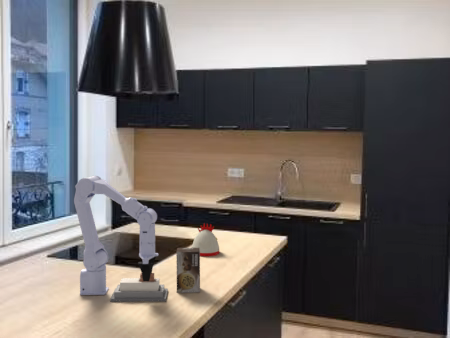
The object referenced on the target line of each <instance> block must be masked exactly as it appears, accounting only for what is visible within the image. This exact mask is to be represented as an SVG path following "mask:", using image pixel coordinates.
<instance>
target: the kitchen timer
mask: <svg viewBox="0 0 450 338" xmlns="http://www.w3.org/2000/svg"><path fill="white" fill-rule="evenodd" d="M214 228H215V226H212V224H211V223H210V224H208V223H206V224H205V223H203V225H200V228H199V227H197V230H198V233H197V234H196V236H195V237H194V239H193V242H192V245H191V248H200V257H215V256H217V255H220V246H219V243H218V242H219V241H218V238H217V236H216V235H215V234H214V232H213V230H214Z"/></svg>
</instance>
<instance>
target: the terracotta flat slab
mask: <svg viewBox="0 0 450 338" xmlns="http://www.w3.org/2000/svg"><path fill="white" fill-rule="evenodd" d="M139 278H140V282H154V278H155V273H154V272H152V273H151V275H150V280H149V281H143V277H142V272H140V274H139Z"/></svg>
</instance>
